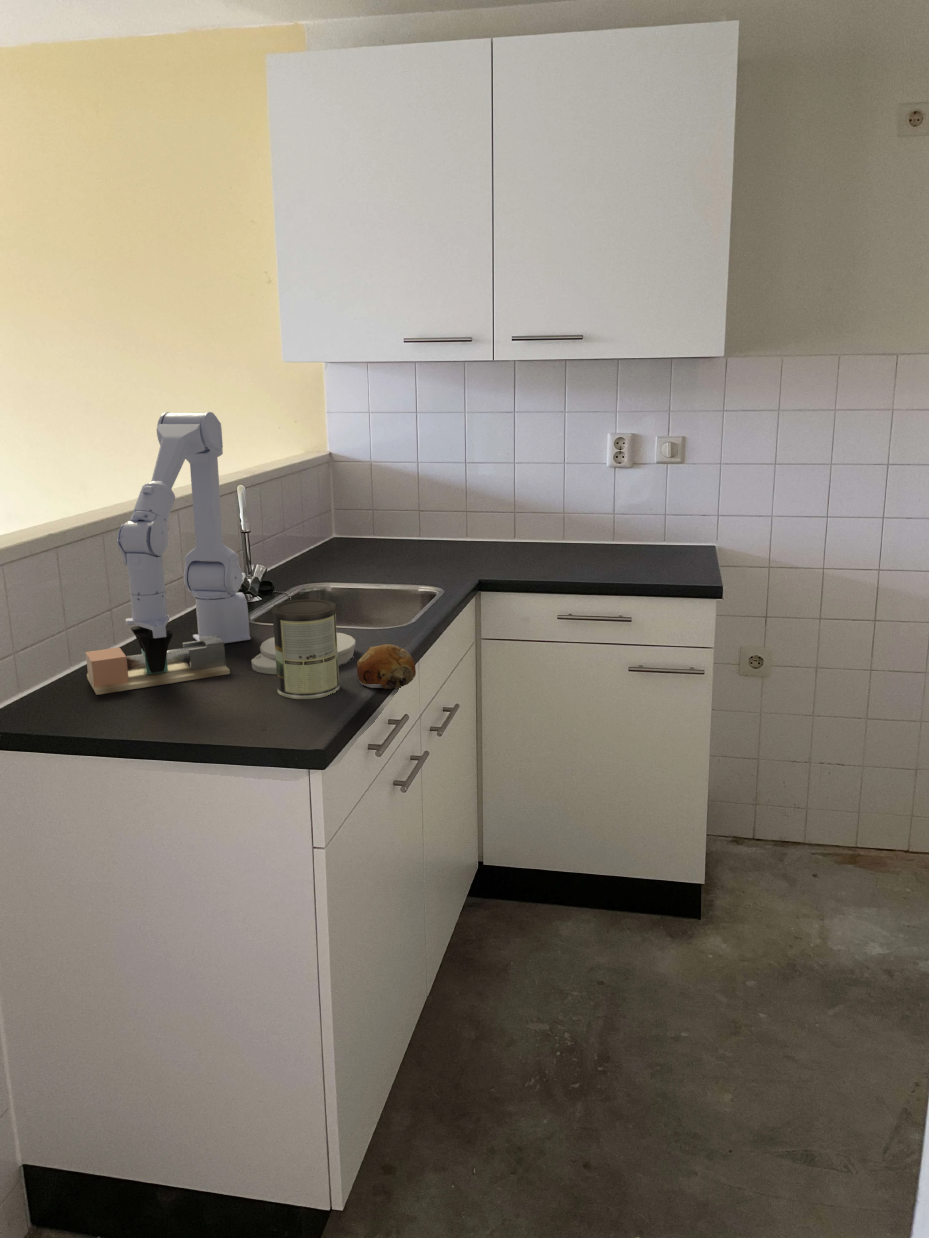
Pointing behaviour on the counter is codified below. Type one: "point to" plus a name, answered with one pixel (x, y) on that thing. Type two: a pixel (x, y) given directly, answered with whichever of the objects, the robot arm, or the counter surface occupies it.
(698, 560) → the counter surface
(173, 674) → the board
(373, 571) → the counter surface
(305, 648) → the coffee can
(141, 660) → the tube
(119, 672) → the socket
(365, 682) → the bread roll
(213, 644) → the gray notched block
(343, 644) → the lid
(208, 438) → the robot arm
